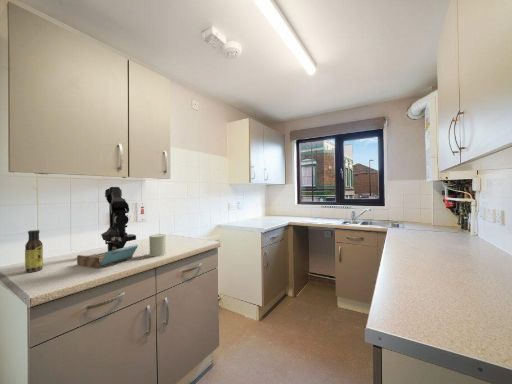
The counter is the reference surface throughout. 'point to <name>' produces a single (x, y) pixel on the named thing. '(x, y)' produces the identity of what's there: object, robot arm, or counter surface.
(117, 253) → the teal flat rectangular block
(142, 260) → the counter surface
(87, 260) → the flatbed
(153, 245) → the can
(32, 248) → the sauce bottle
